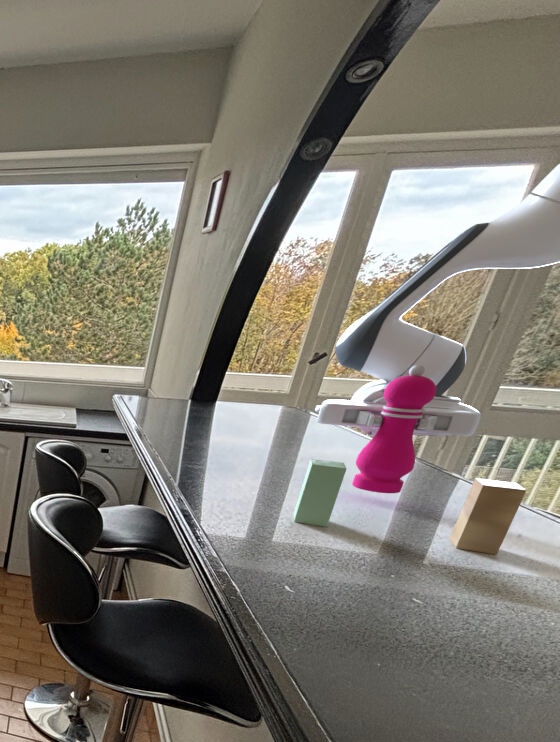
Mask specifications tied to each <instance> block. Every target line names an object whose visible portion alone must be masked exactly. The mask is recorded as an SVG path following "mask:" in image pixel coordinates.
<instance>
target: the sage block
mask: <svg viewBox="0 0 560 742" xmlns="http://www.w3.org/2000/svg"><path fill="white" fill-rule="evenodd" d="M346 472H347V466H346V464H345V462H341V461H332V460H323V459H314V458H310V460H309V463H308V466H307V469H306V472H305V476H304V479H303V482H302V486H301V489H300V492H299V494H298V497H297V500H296V505H295V507H294V510H293V514H292V515H293V516H292V517H293V522H294V523H301V524H306V525H312V526H319V527H325V528H327V527H328V524H329V522H330V519H331V516H332V513H333V510H334V507H335V504H336V501H337V499H338V495H339V493H340V489H341V486H342V484H343V482H344V481H343V480H344V478H345V476H346V475H345V474H346Z"/></svg>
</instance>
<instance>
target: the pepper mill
mask: <svg viewBox="0 0 560 742" xmlns="http://www.w3.org/2000/svg"><path fill="white" fill-rule="evenodd" d="M424 372H425V368H424V367H423V366H421V365H416V366H413V367H412V368H411V369H410V370H409V374H410V375H408V376H402V377H399V378H396V379H394V380H393V381H391V382H390V383H389V384H388V385H387V387H386V388H385V391H384V394H383V395H384V399H385V400H386V402H387V405H385V406H383V408H384V409H383V411H382V412H381V414H382V415H384V416H383V420H382V423H381V426H380V428H379V430H378V432H377V433H376V435H375V436H374V437H373V436H372V438H371V440H369V442H367V444H366V445H364V446H363V448H362V449H361V450H360V452H359V453H358V455H357V457H356V460H355V465H356V467H357V469H358V470H359V473H356V474H355V475H354V478H353V481H352V483H351V485H352V486H353V487H354V488H356V489H360V490H363V491H365V492H366V491H367V492H371V493H379V494H399V493H400V492H402V489H403V486H404V483H405V482H404V480H403V479H402V478H403V477H404V476H406V475H408V474H410V473H411V472H412V471H413V469H414V468H415V464H416V452H415V445H414V435H413V431H414V428H415V425H416V423H417V420H418V418H422V417H423V415H422V414H423V412H424V411H425V409H423V408H422V407H423V406H424V405H426V404H427V403H429V402H430V401H431V400H432V399H433V398H434V396H435V393H436V385H435V383H434V382H433V381H432V380H431V379H429V378H426V377H423V376H421V375H422V374H423V373H424Z"/></svg>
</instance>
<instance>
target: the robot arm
mask: <svg viewBox="0 0 560 742" xmlns="http://www.w3.org/2000/svg"><path fill="white" fill-rule="evenodd" d="M558 263H560V163H559V164H557V165H556V166H555V167H554V168H553V169H552V170H551V171H550V172H549V173H548V174H547V175H546V176H545V177H544V178H543V179H542V180H541V181H540V182H539V183H538V184H537V185H536V186H535V187H534V188H533V189H532V190H531V193H529V194H527V196H526V197H524V199H523V200H522V201H521V202H519V203H518V204H517V205H516V206H514V207H513V208H512V209H510V210H509V211H507V212H506V213H504V214H503V215H501V216H499V217H498V218H495V219H494V220H491V221H489V222H482V223H475V224H474V225H472V226H470V227H469V228H467V229H466V230H464V231H463V232H461V233H460V234H459V235H457V236H456V237H455V238H453V239H452V240H451V241H450V242H449V243H447V244H446V245H445V246H444V247H442V248H441V249H440V250H439V251H438V252H437V253H435V254H434V255H433V256H432V257H430V258H429V259H428V260H427V261H426V262H425V263H424V264H423V265H422V266H420V267H419V268H418V269H417V270H416V271H415V272H413V273H412V275H410V276H409V277H408V278H407V279H406V280H404V281H403V282H402V283H401V284H400V285H399V286H397V288H396V289H394V290H393V291H392V292H391V293H390V294H388V296H387V297H385V298H384V299H383V300H381V301H380V303H378V304H377V305H376V306H375V307H373V308H372V309H371V310H369V312H367V313H366V314H364V315H363V316H361V317H360V318H359V319H357V320H356V321H354V322H353V323H352V324H351V325H349V327H347V328H346V329H345V330H344V332H342V334H341V335H340V336H339V339H338V340H337V342H336V344H335V346H334V351H335V356H336V359H337V361H338V363H339V365H340V366H342V367H345V368H348V369H351V370H353V371H357V372H362V373H364V374H366V375H369V376H371V377H374V378H376V379H378V380H374V381H371V382H368V383H366V384H365V385H362V386H361V387H360V388H358V389H357V390H356V391H354V393H353V395H352V396H351V398H350V400H349V399H348V400H347V399H326V400H324V401H322V402H321V405H316V406H315V407H314V411H315V412H317V413H318V415H317V418H316V422H317V423H318V424H320V425H321V424H322V425H328V426H329V425H331V426H341V427H354V428H359V430H360V431H362V432H363V433H364V434H366V435H368V436H370V437H372V438H373V437H374V436H375V435H376V433H377V432H378V430H379V428H380V426H381V423H382V420H383V416H384V415H382V414H381V412H382V411H383V409H384V408H383V406H385V405H387V402H386V400H385V399H384V395H383V394H384V391H385V388H386V387H387V385H388V384H389V383H390V382H391V381H393V380H394V379H396V378H399V377H402V376H408V375H410V374H409V370H410V369H411V368H412V367H413V366H416V365H421V366H423V367H424V368H425V372H424V373H423V374H422V375H421V376H423V377H426V378H429V379H431V380H432V381H433V382H434V383H435V385H436V393H435V396H434V398H433V399H432V400H431V401H430V402H429V403H427V404H426V405H424V406H423V407H422V408H423V409H425V411H424V412H423V414H422V415H423V417H422V418H418V420H417V423H416V425H415V428H414V431H413V436H429V437H445V436H448V435H450V436H451V435H452V436H461V437H472V436H473V435H475V432H476V431H477V429H478V426H479V423H480V421H481V419H482V413H481V412H480V411H478V410H477V409H476V408H474V407H472V406H471V405H467V404H464V403H462V402H461V399H460V398H459V397H454V396H449V395H443V394H445V393H446V392H447V391H448V390H449V389H450V388H451V387H452V386H453V385H454V384H455V382H456V381H458V379H459V377H461V375H462V373H463V372H464V370H465V367H466V361H467V352H466V351H467V350H466V348H465V345H464V344H462V343H459V342H457V341H455V340H453V339H450V338H447V337H445V336H443V335H440V334H437V333H433V332H431V331H429V330H427V329H426V330H425V329H424V328H421V327H418V326H416V325H414V324H411V323H408V322H406V321H405V320H403V318H402V317H403V316H404V315H405V314H406V313H407V312H408V311H410V310H411V309H412V308H413V307H414V306H415V305H417V304H418V303H419V302H420V301H421V300H422V299H424V298H426V296H427V295H429V293H431V292H432V291H433V290H435V289H436V288H437V287H438V286H440V284H442V283H443V282H444V281H446V280H447V279H449V278H451V277H452V276H455V275H457V274H460V273H463V272H467V271H473V270H482V269H484V270H485V269H505V270H506V269H511V270H513V269H519V270H520V269H521V270H522V269H533V268H534V269H535V268H540V267H546V266H551V265H554V264H558Z"/></svg>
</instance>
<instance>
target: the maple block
mask: <svg viewBox="0 0 560 742" xmlns="http://www.w3.org/2000/svg"><path fill="white" fill-rule="evenodd" d="M526 493H527V489H526V488H524V487H523V486H521V485H520V484H519V483H517V482H511V481H502V480H494V479H486V478H477V477H475V478H474V480H473V482H472V485H471V487H470V489H469V492H468V494H467V497H466V499H465V500H464V504H463V506H462V508H461V510H460V512H459V515H458V518H457V520H456V522H455V524H454V527H453V529H452V531H451V534H450V537H449V541H450V543H451V544H452V545H453V547H454V548H455V549H460V550H466V551H472V552H478V553H484V554H489V555H495V556H496V555H498V553H499V551H500V548H501V547H502V545H503V543H504V540H505V538H506V536H507V534H508V532H509V529H510V527H511V525H512V522H513V520H514V518H515V516H516V514H517V512H518V510H519V507H520V506H521V504H522V501H523V499H524V497H525V494H526Z"/></svg>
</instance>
